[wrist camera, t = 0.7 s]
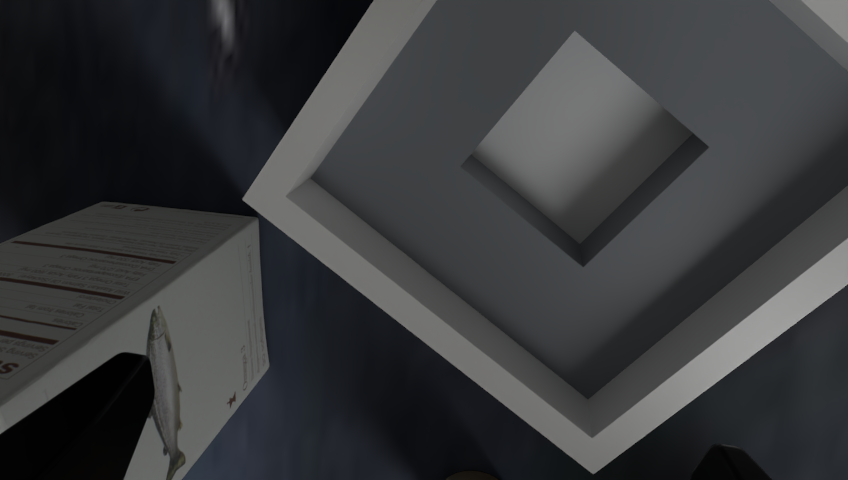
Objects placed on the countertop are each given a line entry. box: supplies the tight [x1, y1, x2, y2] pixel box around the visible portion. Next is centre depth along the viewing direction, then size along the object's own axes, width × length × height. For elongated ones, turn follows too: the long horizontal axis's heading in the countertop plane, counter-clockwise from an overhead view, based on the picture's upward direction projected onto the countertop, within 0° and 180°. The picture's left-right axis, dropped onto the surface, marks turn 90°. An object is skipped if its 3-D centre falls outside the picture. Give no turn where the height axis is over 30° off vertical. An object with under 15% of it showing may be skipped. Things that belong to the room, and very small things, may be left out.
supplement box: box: [0, 202, 269, 480], centre depth 20 cm, size 7×7×13 cm
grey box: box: [242, 0, 848, 474], centre depth 18 cm, size 14×14×5 cm
